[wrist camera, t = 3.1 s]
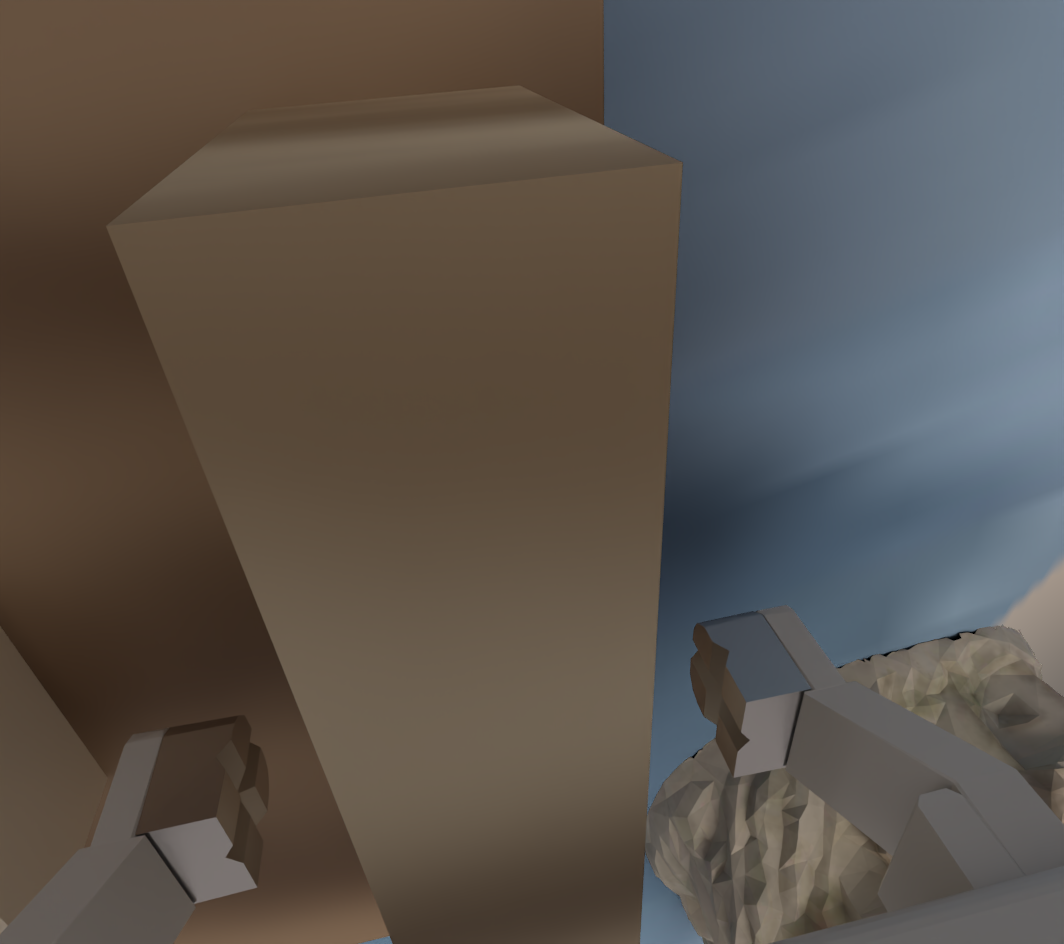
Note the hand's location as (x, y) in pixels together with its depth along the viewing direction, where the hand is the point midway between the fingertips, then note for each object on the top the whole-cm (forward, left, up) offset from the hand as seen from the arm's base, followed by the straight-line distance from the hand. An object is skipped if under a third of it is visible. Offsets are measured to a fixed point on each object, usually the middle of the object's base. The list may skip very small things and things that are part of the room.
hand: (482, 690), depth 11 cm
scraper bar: (0, 0, -2) cm, 2 cm away
